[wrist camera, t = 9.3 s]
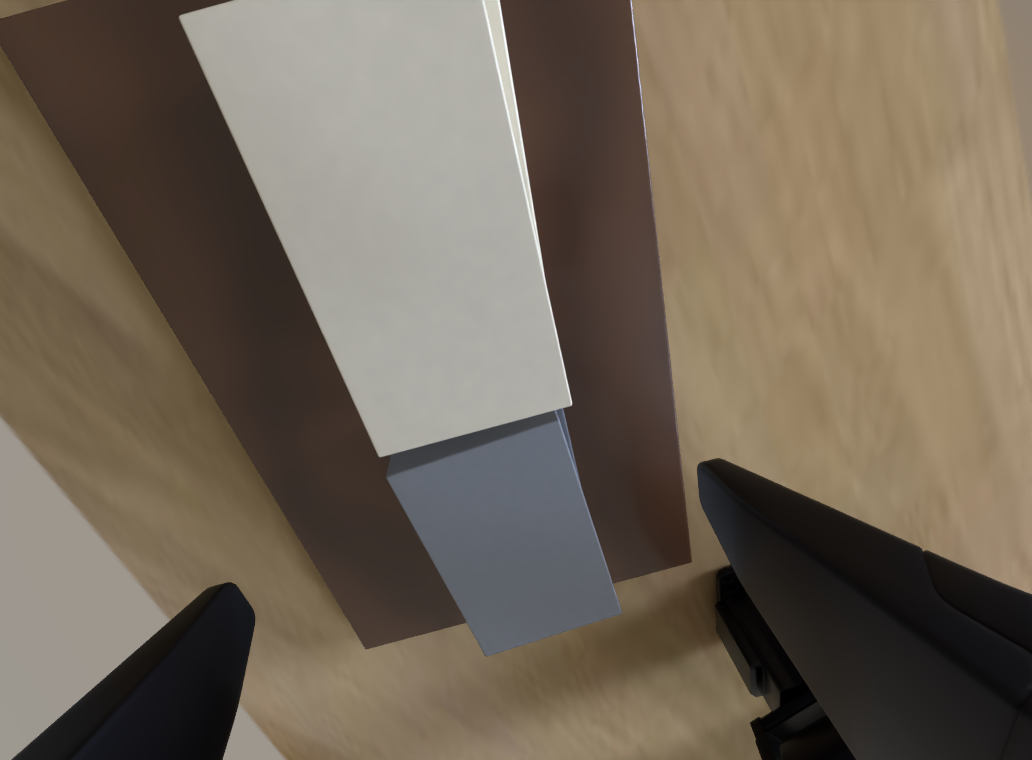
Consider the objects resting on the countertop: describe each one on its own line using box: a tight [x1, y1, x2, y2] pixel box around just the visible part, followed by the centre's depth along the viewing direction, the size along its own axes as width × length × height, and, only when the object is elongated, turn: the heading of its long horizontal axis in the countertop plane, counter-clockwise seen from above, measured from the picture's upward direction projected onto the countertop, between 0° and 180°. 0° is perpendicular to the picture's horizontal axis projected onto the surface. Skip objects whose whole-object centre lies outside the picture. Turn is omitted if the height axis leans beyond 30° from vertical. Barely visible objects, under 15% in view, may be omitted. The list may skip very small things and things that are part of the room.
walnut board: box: [0, 0, 692, 649], centre depth 20 cm, size 18×28×2 cm, turn 14°
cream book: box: [179, 0, 572, 457], centre depth 13 cm, size 6×11×2 cm, turn 14°
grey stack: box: [386, 408, 622, 656], centre depth 21 cm, size 7×11×4 cm, turn 14°
